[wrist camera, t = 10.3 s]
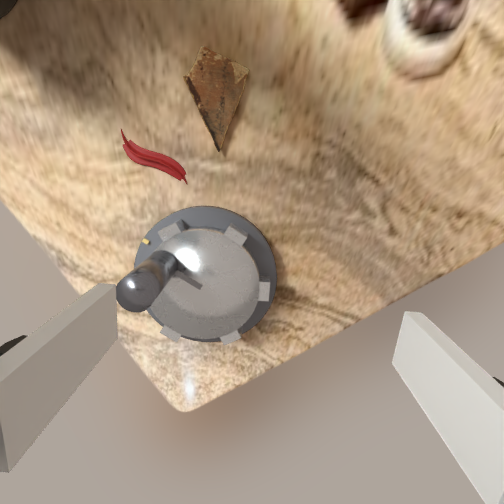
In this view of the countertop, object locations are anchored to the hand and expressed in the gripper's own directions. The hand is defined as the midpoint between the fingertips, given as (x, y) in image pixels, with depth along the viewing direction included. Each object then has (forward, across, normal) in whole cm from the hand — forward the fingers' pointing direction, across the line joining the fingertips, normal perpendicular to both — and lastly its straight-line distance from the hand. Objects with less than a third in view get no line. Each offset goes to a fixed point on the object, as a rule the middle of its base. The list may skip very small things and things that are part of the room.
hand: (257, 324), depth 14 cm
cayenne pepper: (+32, -15, +6) cm, 36 cm away
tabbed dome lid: (+29, -7, -10) cm, 32 cm away
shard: (+32, -6, +15) cm, 36 cm away
